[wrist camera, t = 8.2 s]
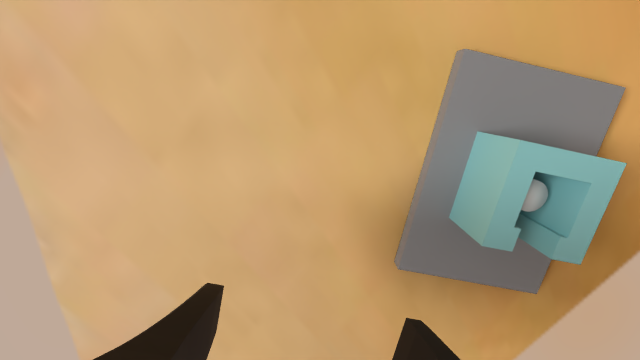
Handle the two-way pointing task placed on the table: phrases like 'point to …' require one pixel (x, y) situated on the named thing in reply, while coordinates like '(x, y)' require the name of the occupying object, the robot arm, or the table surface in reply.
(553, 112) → the post board
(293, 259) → the table surface
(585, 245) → the teal slotted block
